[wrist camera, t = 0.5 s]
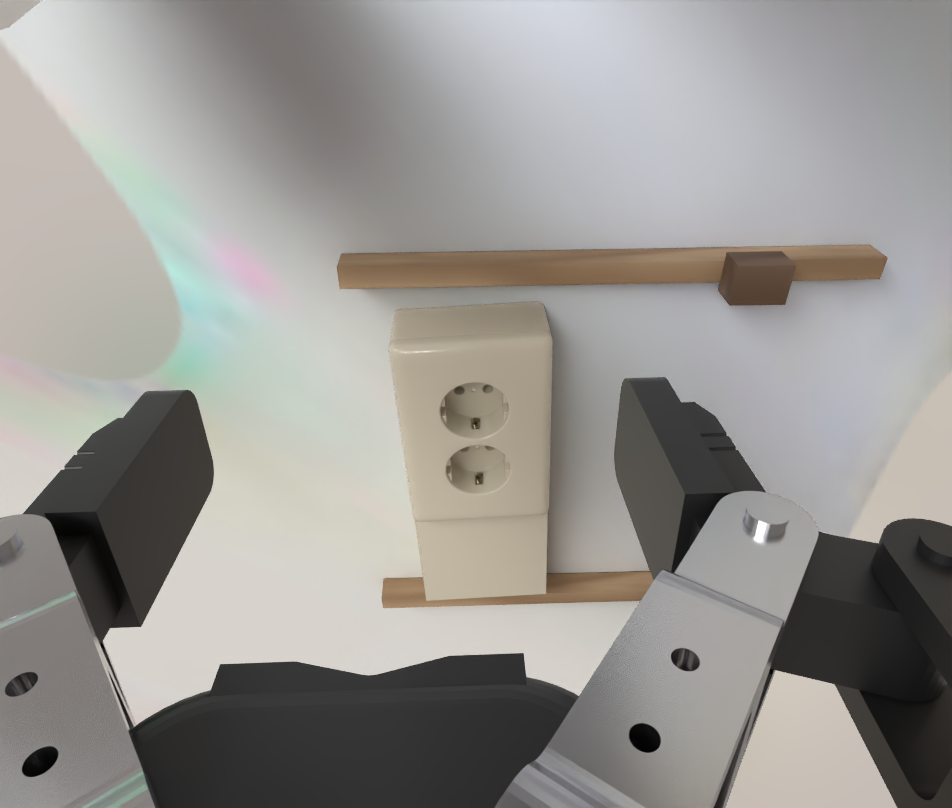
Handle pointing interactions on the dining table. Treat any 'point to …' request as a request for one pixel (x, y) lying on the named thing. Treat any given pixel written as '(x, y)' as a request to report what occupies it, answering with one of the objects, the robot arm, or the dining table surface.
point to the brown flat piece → (736, 268)
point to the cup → (14, 10)
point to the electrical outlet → (476, 444)
